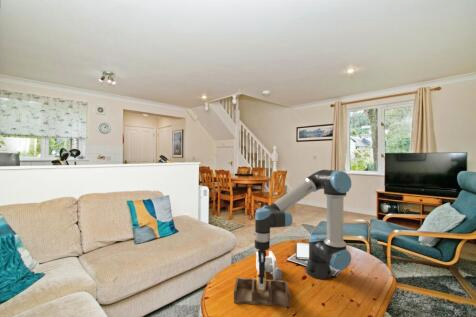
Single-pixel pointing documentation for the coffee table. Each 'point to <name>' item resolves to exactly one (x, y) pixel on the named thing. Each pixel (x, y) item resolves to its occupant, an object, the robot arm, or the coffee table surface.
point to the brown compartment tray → (273, 296)
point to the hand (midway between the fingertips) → (261, 286)
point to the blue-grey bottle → (277, 274)
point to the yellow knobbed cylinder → (258, 283)
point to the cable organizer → (268, 262)
